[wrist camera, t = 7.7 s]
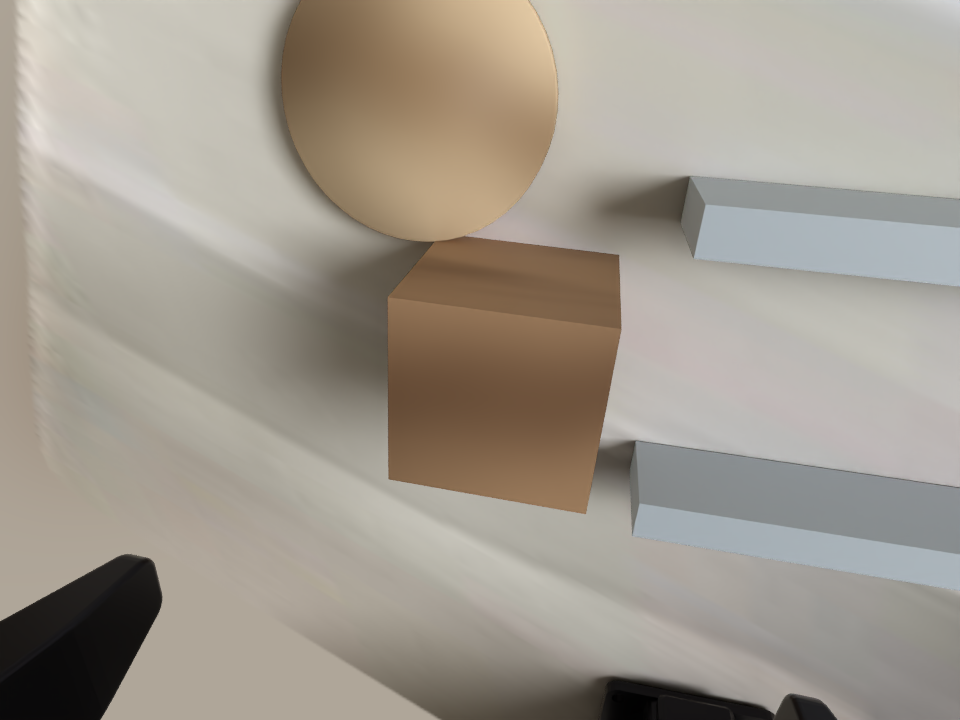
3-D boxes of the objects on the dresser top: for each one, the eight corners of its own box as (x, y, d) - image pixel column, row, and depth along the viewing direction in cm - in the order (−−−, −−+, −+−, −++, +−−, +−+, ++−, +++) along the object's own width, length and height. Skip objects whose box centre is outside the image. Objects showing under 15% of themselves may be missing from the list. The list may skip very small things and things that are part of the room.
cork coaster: (543, 245, 17) (541, 254, 17) (306, 220, 18) (294, 228, 18) (574, -56, 14) (572, -61, 13) (282, -67, 15) (266, -72, 14)
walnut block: (591, 406, 20) (585, 513, 15) (436, 383, 20) (388, 479, 16) (618, 254, 17) (621, 329, 13) (442, 232, 18) (387, 297, 13)
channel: (1038, 533, 19) (1108, 615, 16) (629, 471, 20) (632, 536, 18) (1235, 223, 14) (1377, 266, 11) (690, 176, 16) (706, 204, 13)
